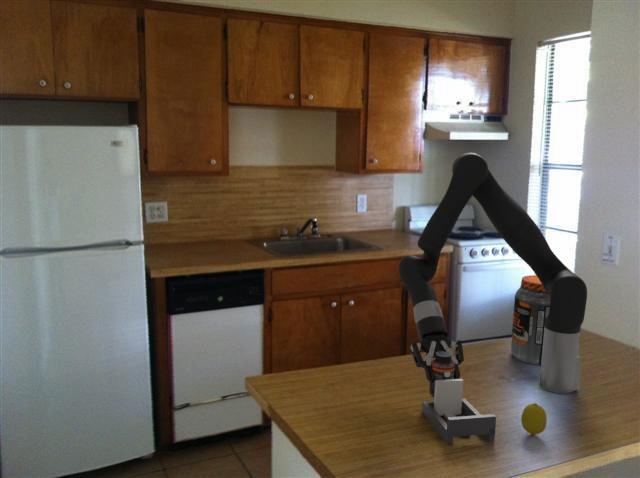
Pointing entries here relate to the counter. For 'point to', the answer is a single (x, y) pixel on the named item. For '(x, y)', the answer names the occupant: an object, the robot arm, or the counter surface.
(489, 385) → the counter surface
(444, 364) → the supplement bottle
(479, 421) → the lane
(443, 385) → the plate
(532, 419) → the lemon
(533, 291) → the supplement tub
